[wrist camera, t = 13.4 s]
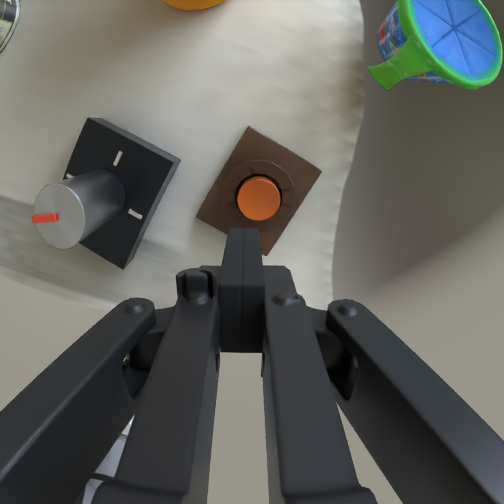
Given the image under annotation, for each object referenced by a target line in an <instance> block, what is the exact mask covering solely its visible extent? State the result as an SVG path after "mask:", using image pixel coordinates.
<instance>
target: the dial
mask: <svg viewBox="0 0 504 504" xmlns="http://www.w3.org/2000/svg"><path fill="white" fill-rule="evenodd" d="M124 203H125V190H124V186H123V184H122V182H121V180H120V179H119V178H118V176H117V175H115V174H114V173H113V172H111V171H108V170H104V169H100V170H95V171H92V172H88V173H85V174H82V175H78V176H75V177H72V178H69V179H65V180H62V181H59V182H56V183H53V184H50V185H48V186H46V187H45V188H43V189H42V190H41V191H40V193H39V194H38V196H37V198H36V201H35V205H34V215H33V216H32V221H33V223H35V224H36V227H37V230H38V232H39V234H40V235H41V237H42V238H43V239H44V240H45V241H46V242H47V243H48V244H49V245H51V246H53V247H55V248H58V249H68V248H71V247H73V246H75V245H76V244H77V243H79V242H80V241H82V240H83V239H84V238H86V237H87V236H89V235H90V234H91V233H93V232H94V231H96V230H97V229H99V228H100V227H101V226H103V225H104V224H106V223H107V222H109V221H110V220H112V219H113V218H115V217H116V216H117V215H118V214H119V213H120V212H121V210H122V208H123V206H124Z"/></svg>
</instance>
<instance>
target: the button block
mask: <svg viewBox="0 0 504 504" xmlns="http://www.w3.org/2000/svg"><path fill="white" fill-rule="evenodd" d="M321 172H322V171H321V170H320V169H318V168H317V167H315V166H314V165H312V164H311V163H309V162H308V161H306V160H305V159H303V158H301V157H300V156H298V155H297V154H295V153H294V152H292V151H290V150H289V149H287V148H285V147H284V146H282V145H281V144H279V143H277V142H276V141H274V140H272V139H271V138H269V137H267V136H266V135H264V134H262V133H260V132H259V131H257V130H255V129H254V128H252V127H250V126H248V128H247V129H246V131H245V132H244V134H243V136H242V137H241V139H240V141H239V142H238V144H237V146H236V147H235V149H234V151H233V152H232V154H231V156H230V157H229V159H228V161H227V162H226V164H225V166H224V167H223V169H222V171H221V173H220V174H219V176H218V178H217V179H216V181H215V183H214V185H213V186H212V188H211V190H210V192H209V193H208V195H207V197H206V199H205V201H204V202H203V204H202V206H201V208H200V210H199V211H198V213H197V215H196V217H197V218H198V219H200V220H202V221H204V222H206V223H207V224H209V225H211V226H213V227H215V228H216V229H218V230H220V231H222V232H223V233H225V234H227V235H228V231H229V228H258V229H259V237H260V246H261V254H263V255H265V256H267V255H268V254H269V252H270V251H271V249H272V248H273V246H274V244H275V243H276V241H277V240H278V238H279V237H280V235H281V234H282V232H283V231H284V229H285V228H286V226H287V225H288V223H289V222H290V220H291V219H292V217H293V215H294V214H295V212H296V211H297V209H298V208H299V206H300V205H301V203H302V202H303V200H304V199H305V197H306V195H307V194H308V192H309V191H310V189H311V188H312V186H313V185H314V183H315V181H316V180H317V178H318V177H319V175H320V174H321ZM256 176H261V177H265V178H268V179H269V180H271V181H272V182H273V183H274V184H275V185H276V187H277V189H278V191H279V194H280V206H279V208H278V210H277V212H276V213H275V214H274V215H273V216H272V217H270V218H268V219H266V220H261V221H257V220H252V219H249V218H248V217H246V216H245V215H244V214H243V213H242V212H241V211H240V209H239V206H238V202H237V197H238V192H239V189H240V187H241V185H242V184H243V183H244V182H245V181H246V180H248V179H249V178H252V177H256Z"/></svg>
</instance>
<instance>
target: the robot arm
mask: <svg viewBox="0 0 504 504" xmlns="http://www.w3.org/2000/svg"><path fill="white" fill-rule="evenodd" d="M176 284H177V294H178V299H177V302H176V304H175V306H173V307H170V308H164V309H157V310H155V307H154V303H153V302H152V301H151V300H148V299H145V298H130V299H128V300H125V301H123V302H121V303H120V304H118V305H117V306H116V307H115V308H113V309H112V310H111V311H110V312H109V313H108V314H107V315H105V316H104V317H103V318H102V319H101V320H100V321H98V322H97V323H96V324H95V325H94V326H93V327H92V328H90V329H89V330H88V331H87V332H86V333H85V334H84V335H82V336H81V337H80V338H79V339H78V340H77V341H76V342H75V343H73V344H72V345H71V346H70V347H69V348H68V349H67V350H66V351H64V352H63V353H62V354H61V355H60V356H59V357H58V358H57V359H56V360H55V361H54V362H52V363H51V364H50V365H49V366H48V367H47V368H46V369H45V370H44V371H43V372H42V373H40V374H39V375H38V376H37V377H36V378H35V379H34V380H33V381H32V382H31V383H30V384H29V385H28V386H27V387H26V388H24V389H23V391H21V392H20V393H19V394H18V395H17V396H16V397H15V398H14V399H13V400H12V401H11V402H10V403H9V404H8V405H7V406H6V407H5V408H4V409H3V410H2V411H1V412H0V504H207V494H208V482H209V471H210V459H211V448H212V437H213V426H214V416H215V406H216V395H217V386H218V377H219V367H220V352H232V353H233V352H235V353H236V352H237V353H262V368H261V377H263V393H264V411H265V429H266V449H267V468H268V488H269V504H378V503H377V501H376V498H375V496H374V494H373V493H372V492H371V490H370V489H369V488H365V487H362V486H361V485H360V484H359V482H358V479H357V476H356V472H355V468H354V465H353V461H352V457H351V453H350V450H349V446H348V442H347V439H346V435H345V432H344V428H343V425H342V421H341V418H340V414H339V411H338V407H337V404H338V405H339V407H340V408H341V410H342V412H343V413H344V415H345V416H346V418H347V419H348V421H349V422H350V424H351V425H352V427H353V428H354V430H355V432H356V433H357V434H358V436H359V438H360V439H361V440H362V442H363V444H364V445H365V447H366V448H367V450H368V451H369V453H370V454H371V456H372V457H373V459H374V460H375V462H376V463H377V465H378V466H379V468H380V470H381V471H382V473H383V474H384V475H385V477H386V479H387V480H388V482H389V483H390V485H391V486H392V488H393V489H394V491H395V492H396V493H397V495H398V497H399V498H400V500H401V501H402V503H403V504H504V441H503V440H502V439H501V438H500V437H499V436H498V434H497V433H495V431H494V430H493V429H492V428H491V427H490V426H489V425H488V424H487V423H486V422H485V421H484V420H483V419H482V418H481V417H480V416H479V415H478V414H477V413H476V412H475V411H474V410H473V409H472V408H471V407H470V406H469V405H468V404H467V403H466V402H465V401H464V400H463V399H462V398H461V397H460V396H459V395H458V394H457V393H456V392H455V391H454V390H453V389H452V388H451V387H450V386H449V385H448V384H447V383H446V382H445V381H444V380H443V379H442V378H440V377H439V375H437V374H436V373H435V372H434V371H433V370H432V369H431V368H430V367H429V366H428V365H427V364H426V363H425V362H424V361H423V360H422V359H421V358H420V357H419V356H418V355H416V353H415V352H413V351H412V350H411V349H410V348H409V347H408V346H407V345H406V344H405V343H404V342H403V341H402V340H401V339H400V338H399V337H397V336H396V335H395V334H394V333H393V332H392V331H391V330H390V329H389V328H388V327H387V326H386V325H385V324H384V323H382V322H381V321H380V320H379V319H378V318H377V317H376V316H375V315H374V314H373V313H372V312H370V311H369V310H368V309H367V308H366V307H365V306H363V305H362V304H360V303H358V302H355V301H353V300H348V299H343V300H336V301H332V302H331V303H330V304H329V305H328V310H327V311H325V310H319V309H314V308H311V307H308V306H306V303H305V300H304V298H303V297H302V296H301V295H299V294H297V292H296V289H295V285H294V282H293V279H292V275H291V272H290V270H289V269H287V268H286V267H285V266H263V263H262V255H261V246H260V237H259V229H258V228H229V231H228V236H227V241H226V246H225V251H224V256H223V260H222V265H221V266H201V267H199V268H191V269H187V270H183V271H181V272H179V273H178V274H177V275H176ZM125 357H126V360H125V361H124V362H123V360H124V358H125ZM336 402H337V404H336ZM133 416H134V418H133ZM132 418H133V421H132V424H131V427H130V430H129V433H128V435H125V434H122V432H123V431H124V429H125V428H126V426H127V425H128V424H129V422H130V421H131V419H132Z"/></svg>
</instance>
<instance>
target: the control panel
mask: <svg viewBox="0 0 504 504" xmlns="http://www.w3.org/2000/svg"><path fill="white" fill-rule="evenodd" d="M180 161H181V160H180V159H179V158H177V157H175V156H173V155H171V154H169V153H167V152H166V151H164V150H162V149H160V148H158V147H156V146H154V145H152V144H151V143H149V142H147V141H145V140H143V139H141V138H139V137H137V136H135V135H133V134H131V133H129V132H127V131H126V130H124V129H122V128H120V127H118V126H116V125H114V124H112V123H110V122H108V121H106V120H104V119H102V118H87V120H86V122H85V124H84V127H83V129H82V131H81V134H80V136H79V138H78V141H77V143H76V146H75V148H74V151H73V153H72V156H71V158H70V161H69V164H68V166H67V169H66V172H65V175H64V177H63V180H65V179H69V178H72V177H75V176H78V175H82V174H85V173H88V172H92V171H95V170H100V169H104V170H108V171H111V172H113V173H114V174H115V175H117V176H118V178H119V179H120V180H121V182H122V184H123V186H124V190H125V203H124V206H123V208H122V210H121V212H120V213H119V214H118V215H117V216H116V217H115V218H113V219H112V220H110V221H109V222H107V223H106V224H104V225H103V226H101V227H100V228H99V229H97V230H96V231H94V232H93V233H91V234H90V235H89V236H87V237H86V238H84V239H83V240H82V241H80V242H79V243H80V244H81V245H83V246H85V247H86V248H88V249H90V250H91V251H93V252H94V253H96V254H98V255H99V256H101V257H103V258H104V259H106V260H108V261H109V262H111V263H113V264H115V265H116V266H118V267H120V268H121V269H124V268H125V267H126V266H127V265H128V264H129V263H130V261H131V260H132V259H133V258H134V255H135V253H136V251H137V248H138V246H139V244H140V242H141V240H142V237H143V235H144V233H145V231H146V229H147V227H148V224H149V222H150V220H151V218H152V216H153V214H154V212H155V210H156V208H157V206H158V204H159V202H160V200H161V198H162V196H163V194H164V192H165V190H166V188H167V186H168V184H169V182H170V180H171V178H172V176H173V174H174V172H175V170H176V169H177V167H178V165H179V163H180Z"/></svg>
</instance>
